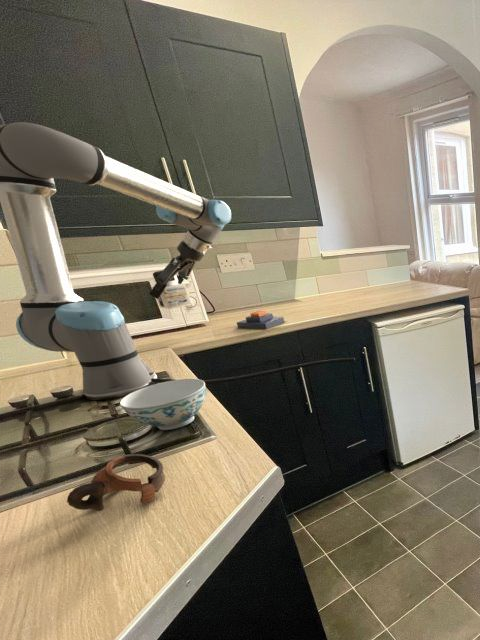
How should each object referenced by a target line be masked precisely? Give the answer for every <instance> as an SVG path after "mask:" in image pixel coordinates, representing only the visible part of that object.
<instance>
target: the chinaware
mask: <svg viewBox="0 0 480 640" xmlns="http://www.w3.org/2000/svg"><path fill="white" fill-rule="evenodd" d="M206 391H207V388H206V384H205V382H204V380H202V379H199V378H181V379H175V380H172V381H167V382H157V383H156V384H154V385H151V386H148V387H145V388H142V389H139V390H137V391H135V392H132V393H130V394H129V395H127V396H123V397H122V399H121V400H120V402H119V405H120V407H121V408H122V409H123V410H124V412H125V413H126V414H128V416H130V417H131V418H133V419H134V420H136V421H137V422H140V423H142V424H144V425H147V426H153V427H157V428H158V429H159V430H161V431H169V430H170V431H171V430H174V429H178V428H179V429H180V428H182V427H184V426H187V425H189V424H191V423H192V422H194V420H195V415H196V414H197V413H198V412H199V411H200V410H201V409H202V407H203V405H204V403H205V400H206V396H207V395H206V394H207V392H206Z"/></svg>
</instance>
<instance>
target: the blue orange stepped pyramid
mask: <svg viewBox="0 0 480 640" xmlns="http://www.w3.org/2000/svg"><path fill="white" fill-rule="evenodd" d="M266 314H267V315H264V316H261V317H251V315H249V316H246V317H245V319H243V320H239V321H237V322H236V325H237V328H238V329H260V330H261V329H263V330H268V329H270V328H272V327H275V326H278V325H281V324H284V323H285V318H284V316H274V315H273V313H271V312H270V313H267V312H266Z"/></svg>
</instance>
